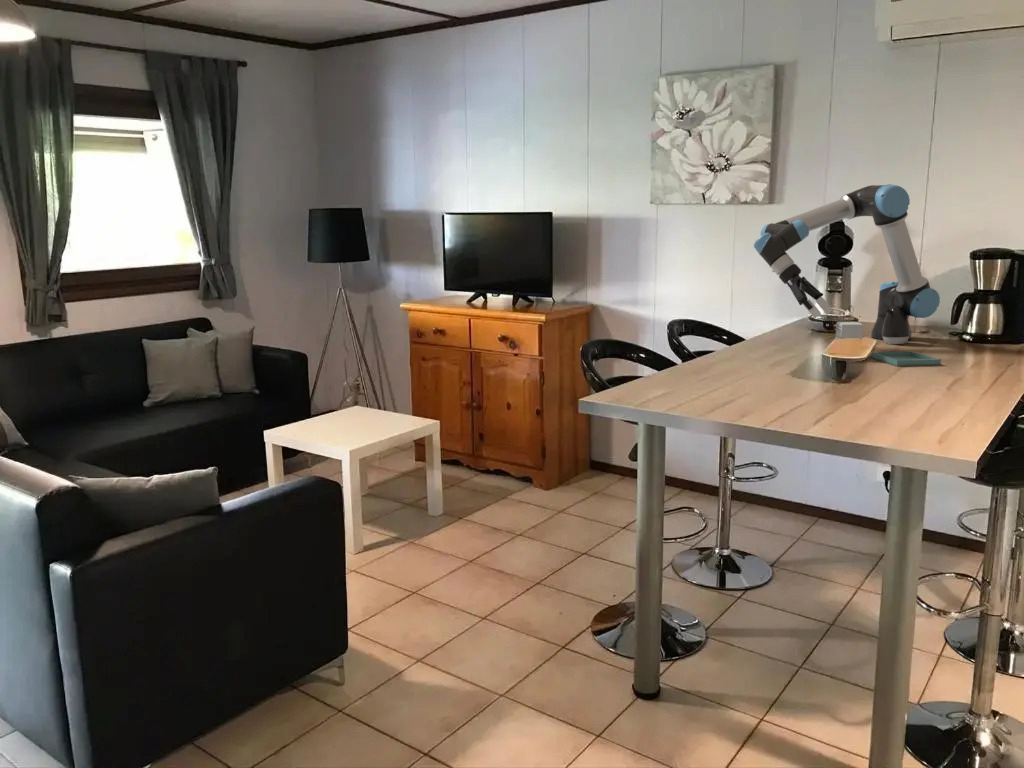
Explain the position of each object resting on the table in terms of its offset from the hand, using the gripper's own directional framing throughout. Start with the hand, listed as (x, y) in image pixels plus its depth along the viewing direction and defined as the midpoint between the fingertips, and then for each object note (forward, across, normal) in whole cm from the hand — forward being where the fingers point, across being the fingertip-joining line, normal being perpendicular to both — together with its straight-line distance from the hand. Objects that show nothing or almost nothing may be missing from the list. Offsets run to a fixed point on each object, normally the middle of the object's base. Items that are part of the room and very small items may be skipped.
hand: (824, 314), depth 301 cm
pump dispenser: (+21, -44, 0) cm, 48 cm away
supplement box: (+17, 0, -4) cm, 18 cm away
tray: (+30, -5, +9) cm, 32 cm away
